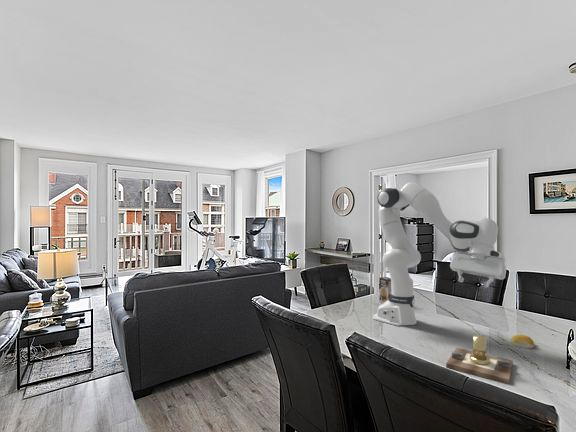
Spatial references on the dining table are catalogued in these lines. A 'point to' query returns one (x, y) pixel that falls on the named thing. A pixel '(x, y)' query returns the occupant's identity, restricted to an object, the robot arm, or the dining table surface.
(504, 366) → the board
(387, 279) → the coffee box
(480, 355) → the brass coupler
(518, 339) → the bread roll
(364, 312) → the dining table surface
